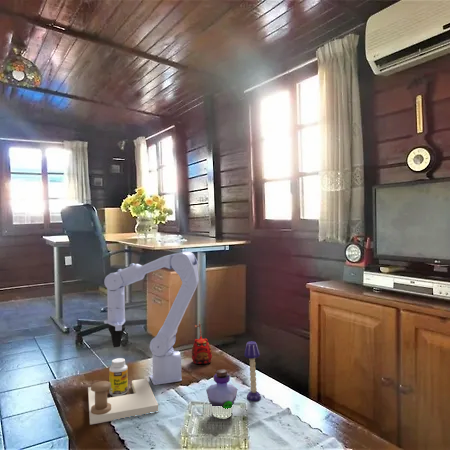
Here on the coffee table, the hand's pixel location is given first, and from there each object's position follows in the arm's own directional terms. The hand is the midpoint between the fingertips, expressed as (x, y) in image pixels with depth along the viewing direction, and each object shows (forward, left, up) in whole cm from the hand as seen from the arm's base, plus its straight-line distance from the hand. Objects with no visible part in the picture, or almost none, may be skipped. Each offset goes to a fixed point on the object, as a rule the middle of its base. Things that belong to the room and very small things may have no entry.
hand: (116, 346), depth 132 cm
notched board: (0, +20, -10) cm, 23 cm away
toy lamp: (-37, +32, -11) cm, 50 cm away
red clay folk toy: (-32, -3, -11) cm, 33 cm away
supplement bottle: (+1, +14, -11) cm, 17 cm away
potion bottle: (-25, +38, -11) cm, 47 cm away
